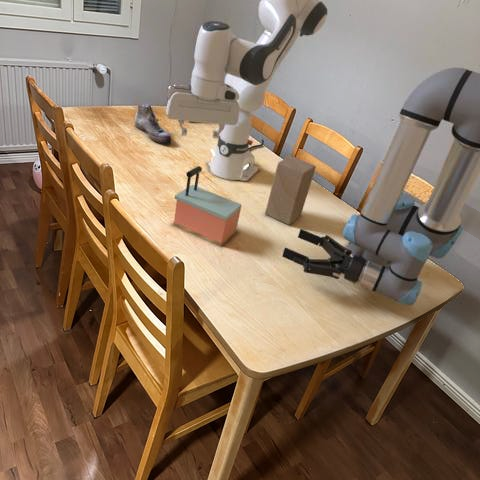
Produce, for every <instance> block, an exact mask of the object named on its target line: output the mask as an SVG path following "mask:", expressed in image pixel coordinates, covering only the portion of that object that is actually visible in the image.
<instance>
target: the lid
mask: <svg viewBox="0 0 480 480" xmlns="http://www.w3.org/2000/svg"><path fill="white" fill-rule="evenodd" d="M202 171H203V168H202V166H199V165H198V166H196V167H193V168H192V169H189V170H188V171H186V174H185V175H186V177H187V181H186V188H184V189H183V190H181V191H179V192H178V193H176V194H175V195H174V200H176V201H177V200H179V201H181V202H183V203H186V204H188V205H191V206H193V207H195V208H198V209H200V210H202V211H205V212H207V213H210V214H212V215H214V216H217V217H219V218H221V219H224V220H227V219H228V218H229V217H231V216H232V215H233V214H234V213H235V212H237V211H238V210H239V209H240V208H241V209H242V206H243V205H242V204H241V203H239V202H236V201H235V200H232V199H230V198H226V197H224V196H222V195H219V194H217V193H214V192H213V191H209V190H207V189H205V188H202V187H200V186H199V178H200V173H201V172H202ZM194 176H195V179H194V180H195V181H194V184H191V180H192V179H191V178H193V177H194Z"/></svg>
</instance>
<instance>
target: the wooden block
mask: <svg viewBox="0 0 480 480" xmlns="http://www.w3.org/2000/svg"><path fill="white" fill-rule="evenodd" d="M316 168H317V166H316V165H315V164H313V163H310V162H308V161H305V160H302V159H300V158H297V157H295V156H292V155H289V156H288V157H286V158H284V159H282V160H280V161H278V162H277V165H276V169H275V172H274V177H273V180H272V185H271V189H270V192H269V197H268V200H267V204H266V208H265V212H264V214H265V215H266V216H269V217H270V218H273V219H275V220H277V221H279V222H281V223H283V224H285V225H287V226H290V225H291V224H293V223H294V222H295V221H296V220H298V218H300V217H301V216H302V213H303V210H304V207H305V204H306V200H307V196H308V193H309V191H310V187H311V184H312V182H313V178H314V175H315V171H316Z"/></svg>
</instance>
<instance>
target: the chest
mask: <svg viewBox="0 0 480 480" xmlns="http://www.w3.org/2000/svg"><path fill="white" fill-rule="evenodd" d="M241 210H242V207H241V208H240V209H239V210H238V211H237V212H235V213H234V214H233V215H232V216H231V217H229V218H228V219H227V220H224V219H221V218H219V217H217V216H214V215H212V214H210V213H207V212H205V211H202V210H200V209H198V208H195V207H193V206H191V205H188V204H186V203H183V202H181V201H179V200H176V202H175V210H174V218H173V226H174V227H177V228H179V229H181V230H183V231H186V232H188V233H191V234H192V235H195V236H196V237H199V238H202V239H204V240H206V241H208V242H210V243H213V244H215V245H216V246H219V247H221V246H223V245H224V244H225V243H226V242H227V241H228V240H229V239H231V237H232V236H233V235H235V234H236V232H237V229H238V223H239V219H240V214H241Z"/></svg>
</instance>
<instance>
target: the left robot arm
mask: <svg viewBox="0 0 480 480" xmlns="http://www.w3.org/2000/svg"><path fill="white" fill-rule="evenodd" d="M257 13H258V18H259V21H260V23H261V25H262V27H263V28H264V31H263V32H262V34H261V35H260V37H259V38H258V40H257V41H256V42H252V41H250V40H246V39H243V38H240V37H237V36H236V35H235V34H234V33H233V32H232V31H231V26H230V25H229V24H227V23H226V22H223V21H219V20H218V21H216V20H215V21H214V20H209V21H206V22H203V23H202V25H201V26H200V28H199V30H198V33H197V37H196V43H195V48H194V55H193V59H194V66H193V69H192V71H191V79H190V85H188V84H179V83H174V84H171V85H170V86H168V88H167V93H166V96H167V99H168V100H167V103H166V109H165V113H166V117H168V119H170V120H174V121H175V120H176V121H177V123H178V125H179V127H180V136H187V135H188V134H187V133H188V129H187V127H184V125H185V122H186V121H187V122H189V121H191V122H193V121H194V123H205V124H214V125H218V128H217V129H216V130H213V131H212V133H213V134H212V138H213V139H217V145H216V146H215V147H214V149H210V152H211V153H212V157H211V160H209V161H208V164H207V165H208V166H209V170H210V172H211V173H212V174H213V175H215V176H216V177H218V178H220V179H225V180H229V181H242V182H247V181H249V179H251V177H253V176H254V175H255V174H256V173H257V172H258V171H259V166H257V165H255V164H254V163H255V155H254V154H253V153H252V152H251V151H250V150H251V149H254V148H259V147H262V146H264V143H265V141H264V139H263V138H262V139H261V143H260V144H256V145H253V143H254V141H253V140H251V139H249V138H250V133H251V128H252V124H253V121H252V112H256V111H258V110H259V109H260V108H261V107H263V104H264V102H265V97H266V92H267V90H268V88H269V86H270V82H272V81H271V80H272V79H273V76H274V75H275V73H276V71H277V70H278V68H279V67H280V65H281V64H282V62H283V61H284V59H285V58H286V57H287V55H288V54H289V52H290V51H291V49H292V47H294V44H295V42H296V41H297V39H298V37H301V38H302V37H303V36H307V37H309V36H313V35H314V34H316V33H317V32H319V31H320V30H321V28H323V26H324V25H325V23H326V20H327V16H328V8H327V6H326V5H325V4H324V3H323V1H320V0H260V1H259V5H258V12H257ZM225 74H226V75H225Z"/></svg>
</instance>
